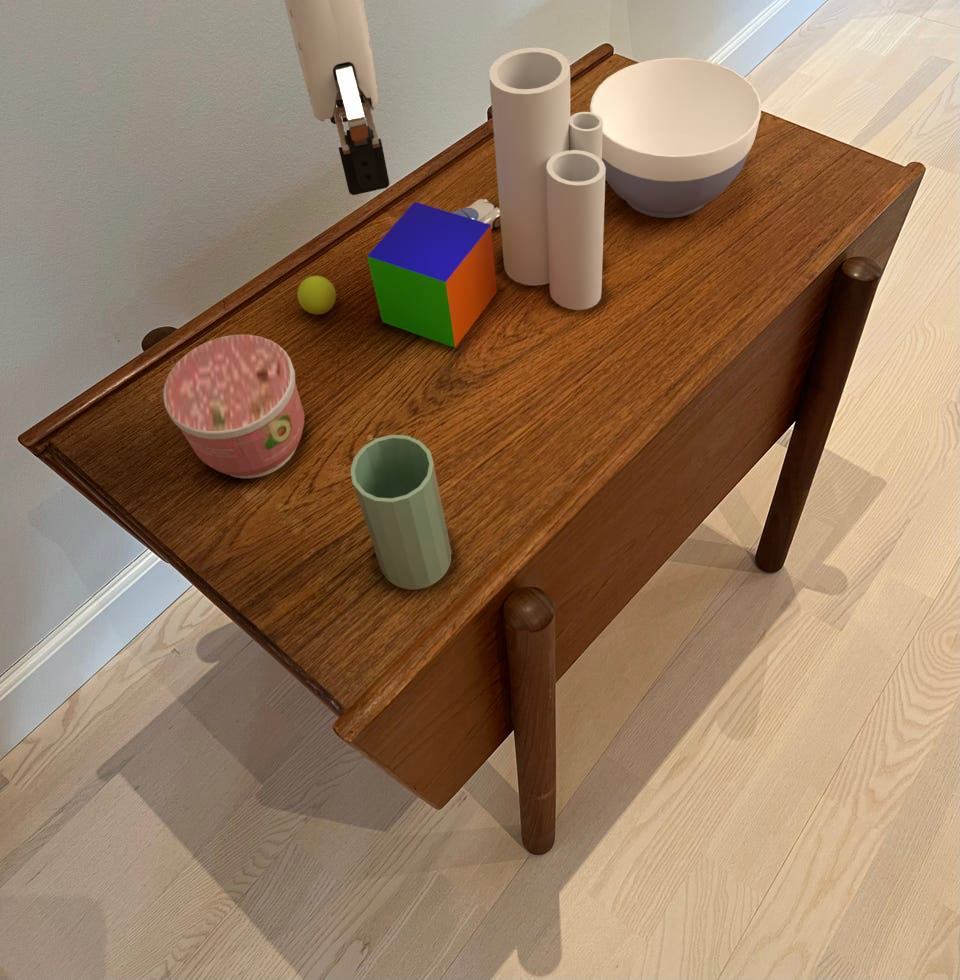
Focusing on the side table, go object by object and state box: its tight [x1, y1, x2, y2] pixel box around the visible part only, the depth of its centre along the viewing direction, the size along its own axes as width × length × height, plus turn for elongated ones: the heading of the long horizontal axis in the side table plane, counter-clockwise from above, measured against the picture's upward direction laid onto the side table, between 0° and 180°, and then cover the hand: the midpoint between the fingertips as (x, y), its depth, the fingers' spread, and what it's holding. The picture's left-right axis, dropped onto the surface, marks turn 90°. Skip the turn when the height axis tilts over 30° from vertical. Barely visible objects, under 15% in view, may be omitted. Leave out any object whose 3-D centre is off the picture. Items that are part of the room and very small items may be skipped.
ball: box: [296, 275, 337, 316], centre depth 89 cm, size 4×4×4 cm
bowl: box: [589, 57, 762, 219], centre depth 93 cm, size 16×16×10 cm
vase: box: [488, 47, 606, 311], centre depth 83 cm, size 11×7×20 cm, turn 50°
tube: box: [349, 434, 452, 591], centre depth 69 cm, size 6×6×12 cm
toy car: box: [452, 198, 501, 230], centre depth 94 cm, size 4×12×3 cm, turn 127°
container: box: [162, 334, 305, 479], centre depth 78 cm, size 10×10×8 cm
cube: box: [366, 201, 498, 349], centre depth 86 cm, size 8×8×8 cm
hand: (359, 152), depth 76 cm, fingers open, 9 cm apart
